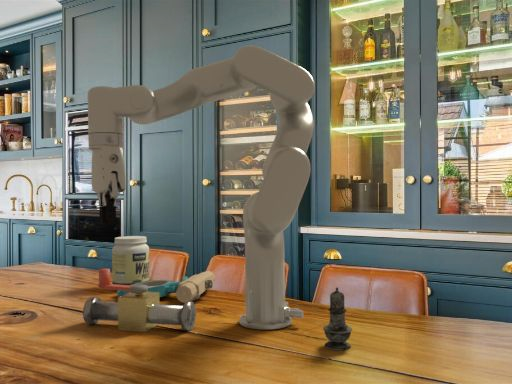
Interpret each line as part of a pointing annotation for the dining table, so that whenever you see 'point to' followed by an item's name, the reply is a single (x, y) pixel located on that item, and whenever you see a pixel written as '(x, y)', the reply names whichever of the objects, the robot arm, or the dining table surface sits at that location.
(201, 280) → the butterfly valve
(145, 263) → the supplement tub
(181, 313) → the valve body
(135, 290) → the lever
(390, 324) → the dining table surface
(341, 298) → the salt shaker
